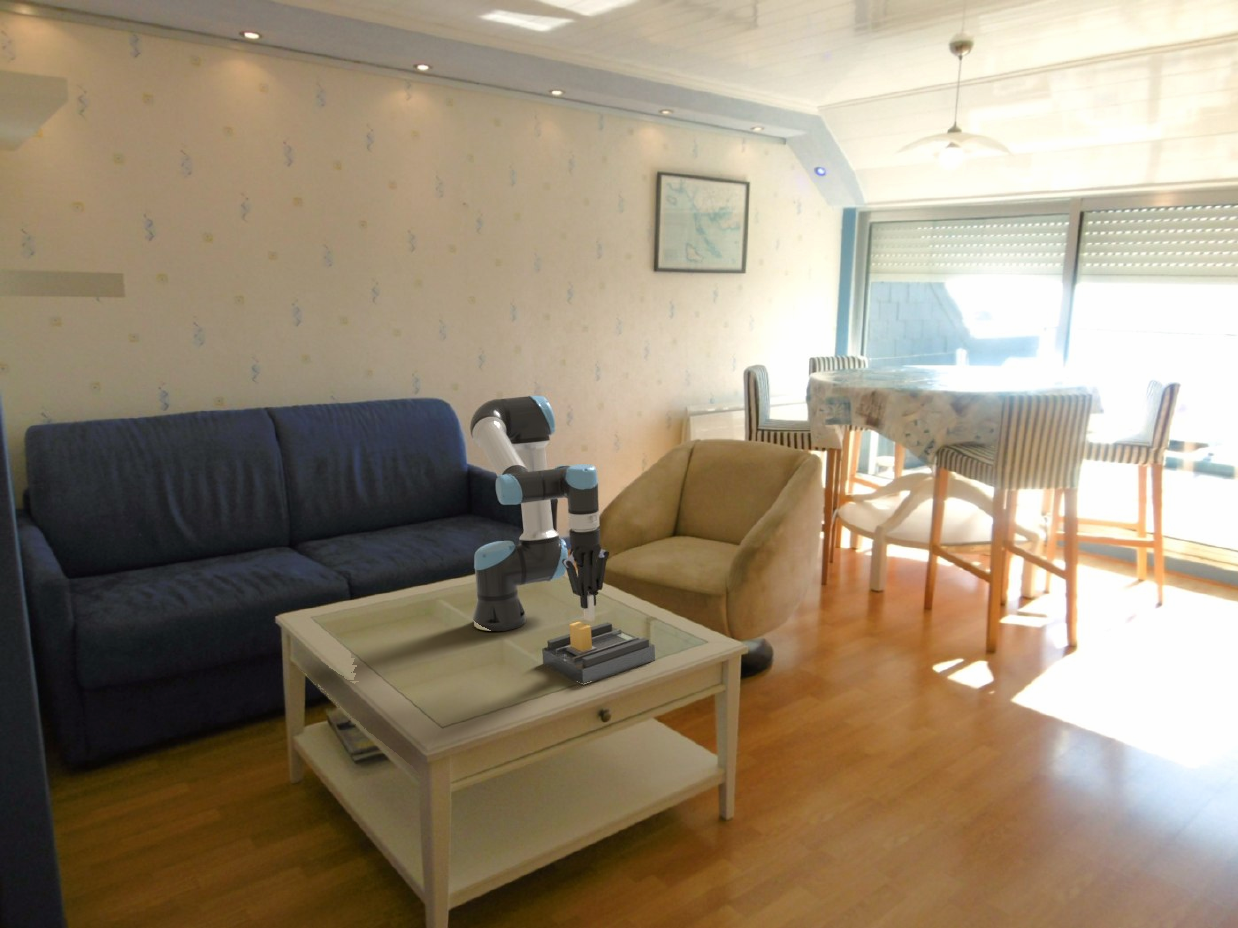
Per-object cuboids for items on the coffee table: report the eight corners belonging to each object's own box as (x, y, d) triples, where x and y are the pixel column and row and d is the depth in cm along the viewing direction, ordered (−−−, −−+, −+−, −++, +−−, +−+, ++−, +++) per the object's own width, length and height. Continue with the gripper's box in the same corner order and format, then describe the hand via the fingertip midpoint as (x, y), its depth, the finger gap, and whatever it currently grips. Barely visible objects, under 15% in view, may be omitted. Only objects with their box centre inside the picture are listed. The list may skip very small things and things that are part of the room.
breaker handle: (566, 650, 219) (564, 624, 218) (583, 645, 222) (581, 619, 221) (580, 657, 214) (578, 631, 213) (596, 651, 217) (595, 625, 216)
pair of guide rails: (547, 647, 223) (547, 640, 222) (608, 628, 234) (607, 622, 233) (586, 667, 209) (586, 660, 208) (649, 646, 220) (648, 639, 220)
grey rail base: (543, 663, 223) (541, 644, 222) (612, 641, 235) (611, 623, 235) (583, 685, 208) (582, 665, 207) (655, 660, 221) (654, 641, 220)
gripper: (570, 536, 208) (576, 630, 212) (614, 525, 216) (619, 616, 220) (553, 530, 214) (559, 621, 218) (597, 520, 222) (601, 609, 226)
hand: (589, 619), depth 219 cm, fingers closed
